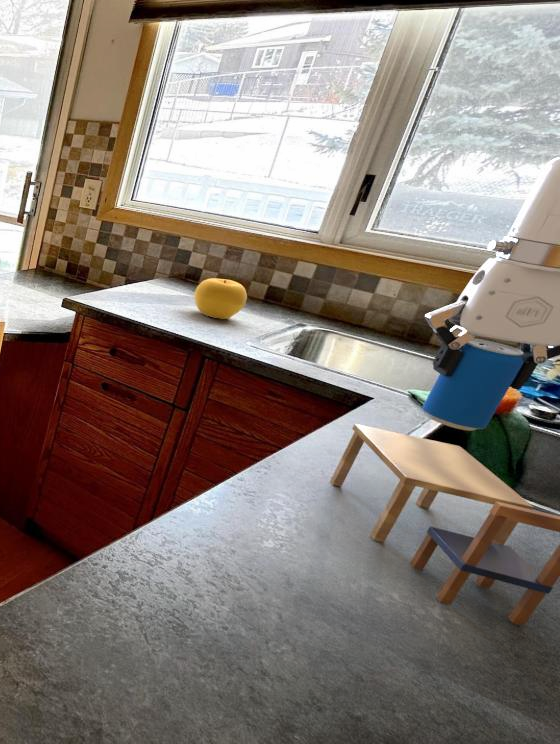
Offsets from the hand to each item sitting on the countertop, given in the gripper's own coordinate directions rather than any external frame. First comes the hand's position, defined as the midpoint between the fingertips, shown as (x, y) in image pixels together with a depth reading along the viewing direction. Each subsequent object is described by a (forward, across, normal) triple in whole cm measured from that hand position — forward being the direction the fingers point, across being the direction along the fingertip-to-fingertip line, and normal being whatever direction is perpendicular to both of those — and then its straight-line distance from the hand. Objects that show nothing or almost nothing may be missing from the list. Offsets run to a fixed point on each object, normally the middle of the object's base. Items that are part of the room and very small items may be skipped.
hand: (475, 378), depth 86 cm
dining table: (+24, 0, -1) cm, 24 cm away
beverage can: (+7, 0, 0) cm, 7 cm away
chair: (+24, 0, -18) cm, 30 cm away
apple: (+24, -5, +105) cm, 108 cm away
